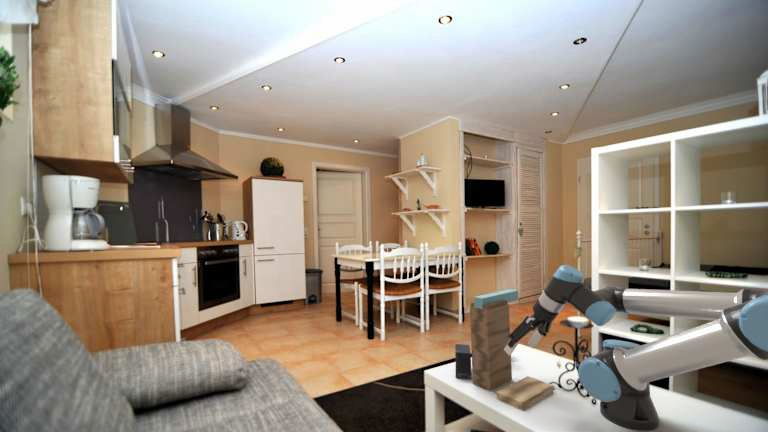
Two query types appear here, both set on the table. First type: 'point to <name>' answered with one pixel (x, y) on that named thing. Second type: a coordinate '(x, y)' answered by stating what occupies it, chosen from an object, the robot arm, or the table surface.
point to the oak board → (524, 392)
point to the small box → (463, 361)
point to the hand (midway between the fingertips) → (519, 348)
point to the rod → (495, 298)
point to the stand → (490, 345)
